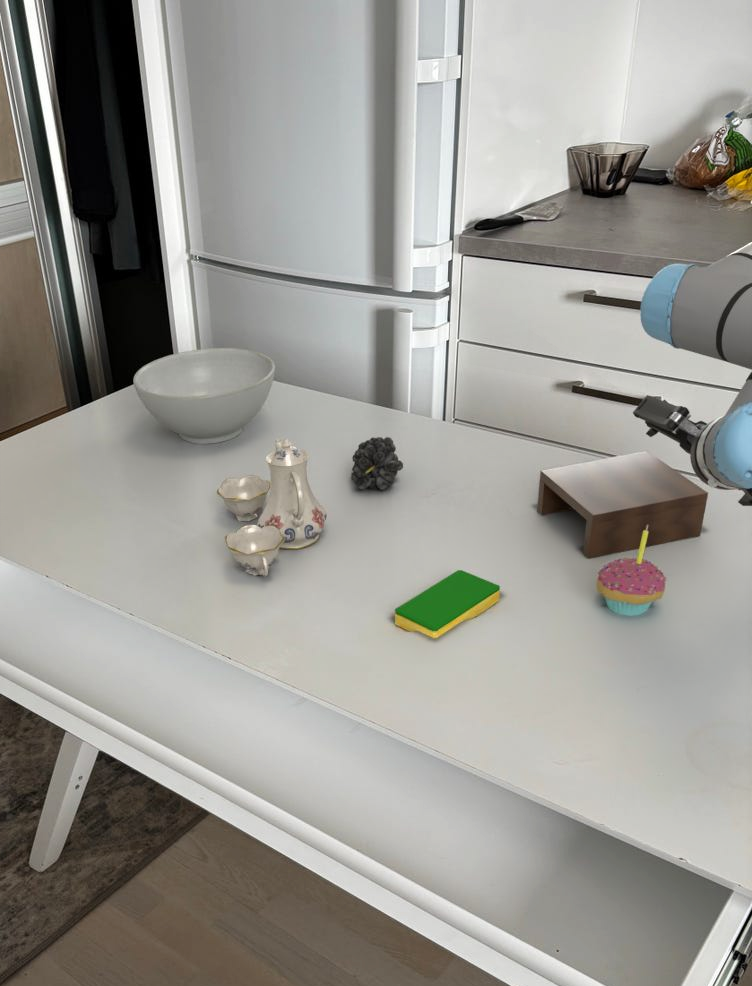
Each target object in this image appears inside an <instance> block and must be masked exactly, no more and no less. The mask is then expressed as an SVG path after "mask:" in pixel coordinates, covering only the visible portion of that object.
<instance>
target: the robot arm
mask: <svg viewBox="0 0 752 986" xmlns="http://www.w3.org/2000/svg"><path fill="white" fill-rule="evenodd" d="M639 316H640V323H641V326H642V328H643V330H644V332H645V333H646V334H647V335H648V337H650V338H653V339H655V340H657V341H659V342H663V343H664V344H667V345H670V346H671V347H672V348H674V349H677V350H679V349H680V350H683V351H687V352H692V353H695V354H698V355H702V356H705V357H709V358H712V359H715V360H719V361H723V362H727V363H729V364H732V365H736V366H739V367H741V368H745V369H747V370H748V369H749V370H752V241H751V242H749V243H747V244H746V245H744V246H742V247H740V248H739V249H737V250H735V251H733V252H731V253H730V254H728V255H726V256H724V257H723V258H721V259H719V260H717V261H714V262H713V263H711V264H710V265H708V266H704V267H700V266H699V265H698V264H695V263H689V264H686V263H673V264H668V265H667V266H665V267H663V268H661V270H659V271H658V272H657V273H656V274H655V275H654V276H653V277H652V278H651V279H650V281H649V283H648V284H647V286H646V288H645V290H644V292H643V295H642V298H641V302H640V315H639ZM690 413H691V412H690V410H689V408H687V407H686V406H682V405H675V404H672V403H671V402H668V400H666V399H659V398H657V397H654V396H652V395H649V394H647V395H646V396H644V398H643V399H642V401H641V402H640V403H639V404H638V406H637V407H636V408H635V409H634V410H633V411H632V414H633V416H634V417H635V418H636V419H640V420H642V421H644V424H646V426H647V428H649V429H648V430H647V431H646V433H645V434H646V436H648V437H650V438H653V437H654V436H656V435H657V434H658V433H660V434H662V435H664V436H666V437H668V438H669V439H671V440H673V441H675V442H677V443H678V444H679V447H680V448H681V449H682V450H683V451H684V452H685V453H686V454H689V456H690V464H691V467H692V469H693V472H694V474H695V475H696V476H697V478H698V479H699V480H700V481H701V482H702V483H704V484H705V485H707V486H709V487H710V488H714V489H717V490H721V491H732V490H738V491H742V492H743V493H744V494H743V495H742V496H741V498H739V500H738V501H737V503H738V504H739V505H741V506H742V507H752V371H751V372H750V373H749V375H748V376H747V378H746V380H745V382H744V384H743V386H742V387H741V388H740V390H739V392H738V393H737V395H736V397H735V398H734V400H733V402H732V403H731V404H730V406H729V408H728V409H727V411H726V413H725V414H724V415H721V416H720V417H718V418H715V419H714V420H712V421H710V422H708V423H707V422H705V421H703V420H699V421H697V422H694V421H692V420H690V418H691V417H692V415H691V414H690Z"/></svg>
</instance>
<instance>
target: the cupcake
mask: <svg viewBox="0 0 752 986" xmlns="http://www.w3.org/2000/svg"><path fill="white" fill-rule="evenodd" d="M648 526H649V525H647V526H646V530H644V531H643V534H642V539H641V543H640V547H639V548H638V553H637V556H636V558H635V557H632V558H630V557H624V558H619V559H614V560H613V561H610V562H608V563H607V564H605V565H603V567H602V568H601V569H600V570H599V571H598V572H597V575H598V576H597V578H596V590H597V592H598V593H600V594H601V595H602V596H603V597H604V599H605V603H606V606H607V608H608V609H609V610H611V611H612V612H614V613H615V614H618V615H622V616H631V617H632V616H640V615H642V614H645V613H646V612H647V611H648V610H649V608H650V606H651V605H652V603H653V602H655V601H657V600H661V599H662V598H663V597H664V593H665V590H666V581H667V576H665V574H664V572H662V569H659V567H658V565H655V564H653V563H652V562H651V561H648V560H647V559H643V558H644V555H645V549H646V547H645V545H646V541H647V537H648V531H647V529H648Z"/></svg>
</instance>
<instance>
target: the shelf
mask: <svg viewBox="0 0 752 986" xmlns="http://www.w3.org/2000/svg"><path fill="white" fill-rule="evenodd" d="M539 472H540V474H539V483H538V495H537V506H536V507H537V508H536V512H537V513H538V514H539V515H540V516H545V515H550V514H555V513H560V512H561V513H562V512H566V511H570V510H574V511H576V512H577V513H578V514H579V515H580V516H581V517H582V518H583V519H585V520H586V522H585V523H586V524H585V531H584V533H585V534H584V541H583V551H582V554H583V556H584V557H586V559H593V558H594V559H595V558H598V557H603V556H608V555H613V554H617V553H618V554H619V553H623V552H627V551H634V550H636V549H637V550H639V547H640V543H641V539H642V534H643V531H644V530H646V526H647V525H649V526H648V529H647V531H648V537H647V541H646V545H645V548H646V547H652V546H656V545H662V544H667V543H671V542H677V541H682V540H686V539H691V538H696V537H697V538H698V537H701V533H702V528H703V523H704V518H705V512H706V506H707V501H708V495H709V492H707V491H706V490H704V489H703V488H702V487H701V486H699V485H697V484H696V483H695V482H694V481H692V480H690V479H689V478H687V477H685V476H684V475H683V474H681V473H680V472H679V471H678V470H676V469H674V468H673V467H671V466H670V465H669V464H667V463H666V462H664V461H663V460H661V459H660V458H658V457H657V456H655V455H654V454H652V453H651V452H649V451H648V450H644V451H638V452H633V453H628V454H627V453H626V454H623V455H616V456H611V457H606V458H600V459H595V460H590V461H585V462H579V463H573V464H569V465H563V466H558V467H552V468H547V469H542V470H540V471H539Z"/></svg>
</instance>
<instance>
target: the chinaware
mask: <svg viewBox="0 0 752 986" xmlns="http://www.w3.org/2000/svg"><path fill="white" fill-rule="evenodd" d="M274 446H275V450H273V451H272V452H269V453H268V454H267V455H266V456H265V461H266V462H267V465H268V468H269V473H270V481H269V480H262V478H260V477H259V476H257V475H253V474H250V475H245V476H243V477H241V478H234V477H230V478H226V479H225V480H223V481H222V483H221V485H220V487H219V488H217V490H216V495H218V496H219V497H221V498H222V500H223V503H224V505H225V506H226V508H227V509H228V510H229V511H230V512H231V513H232V514H234V515H235V516H236V519H237V521H239V522H240V521H241V522H250V521H251V522H252V521H254V520H255V519H257V518H258V514H257V513H259V512H260V510H261V513H260V516H259V518H258V519H257V524H246V525H243V526H241V527H239V528H238V530H236V532H231V533H228V534H227V535H226V536H225V538H224V539H225V543H226V546H227V547H228V549H229V551H231V553H232V556H233V558H234V559H235V561H236V562H237V563H238V564H239V565H240V566H242V567H243V568H245V573H248V574H249V575H252V576H254V577H256V576H264V577H267V576H268V575H269V569H270V567H271V565H272V564H273V563H274V562H275V560H276V559H277V557H278V555H279V551H280V550H287V551H288V550H289V551H292V550H293V551H294V550H301V549H304V548H308V547H310V546H312V545H314V544H316V543H317V542H318V541H319V539H320V538H321V533H322V531H323V529H324V525H325V522H326V520H327V515H328V514H327V512H326V510H325V508H324V507H323V506H322V505H321V503H320V502H319V501H318V500H317V498H316V497H315V495H314V494H313V491H312V489H311V486H310V483H309V480H308V471H307V466H308V459H309V458H310V453H309V452H307V451H306V450H304V449H301V448H298V447H296V446H294V445H292V442H290V440H289V439H287V438H286V439H284V440H283V441H282V439H280V438H279V439H275V440H274ZM268 492H269V494H268ZM267 494H268V498H267ZM266 499H267V501H266Z"/></svg>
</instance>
